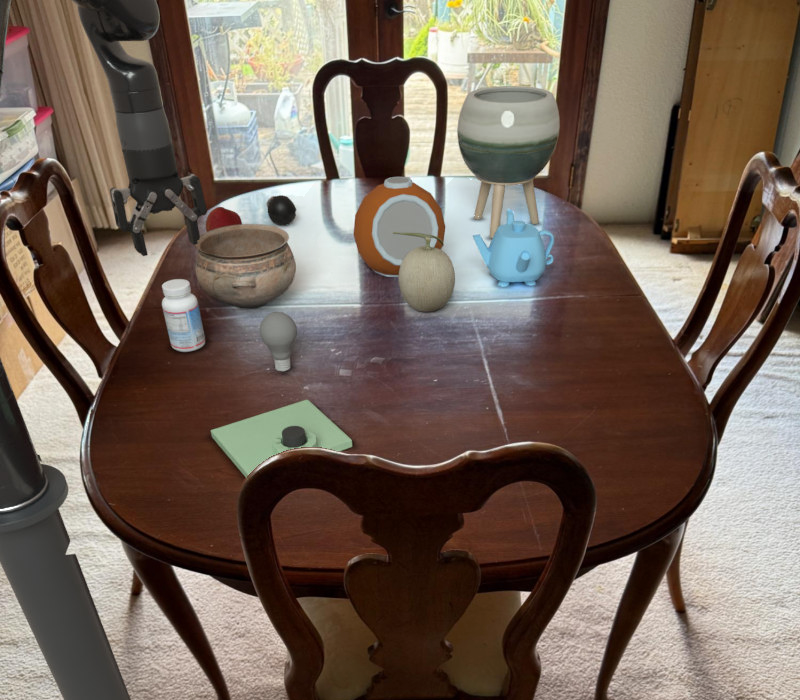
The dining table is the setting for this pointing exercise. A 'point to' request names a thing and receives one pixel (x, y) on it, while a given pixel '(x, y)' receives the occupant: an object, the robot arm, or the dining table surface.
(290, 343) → the light bulb
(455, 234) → the dining table surface
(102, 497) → the dining table surface
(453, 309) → the dining table surface
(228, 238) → the cooking pot
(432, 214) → the alarm clock
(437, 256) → the fruit
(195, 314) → the pill bottle
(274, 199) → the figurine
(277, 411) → the scale
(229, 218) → the apple
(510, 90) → the planter
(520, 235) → the teapot
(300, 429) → the button
